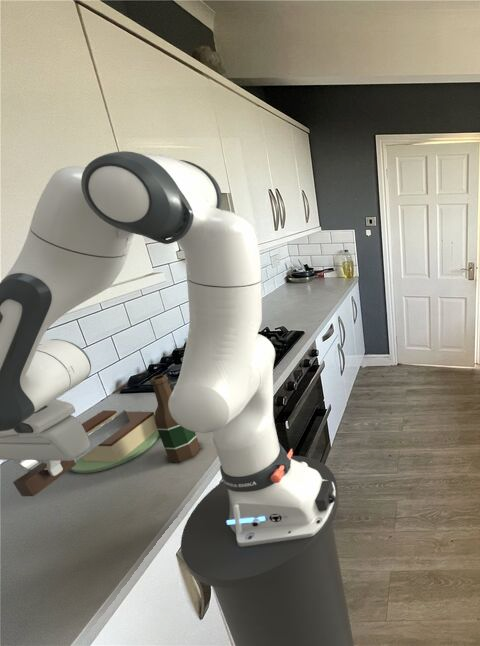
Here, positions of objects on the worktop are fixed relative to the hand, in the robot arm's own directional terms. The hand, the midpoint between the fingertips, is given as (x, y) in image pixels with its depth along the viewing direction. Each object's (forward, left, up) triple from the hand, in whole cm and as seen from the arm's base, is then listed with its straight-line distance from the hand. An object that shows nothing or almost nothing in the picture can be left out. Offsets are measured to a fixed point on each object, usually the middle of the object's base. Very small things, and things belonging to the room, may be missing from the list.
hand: (46, 473), depth 68 cm
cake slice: (+24, -27, -16) cm, 39 cm away
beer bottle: (-5, -24, -17) cm, 30 cm away
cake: (+17, -26, -17) cm, 35 cm away
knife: (0, -7, -2) cm, 7 cm away
